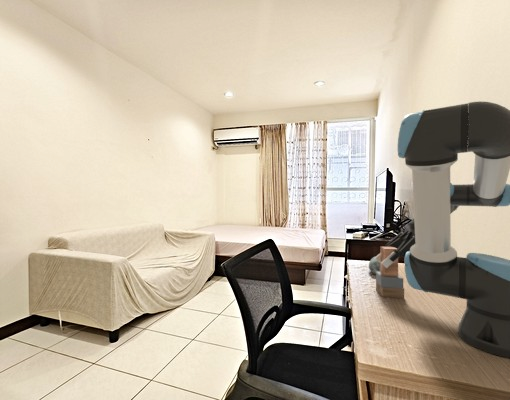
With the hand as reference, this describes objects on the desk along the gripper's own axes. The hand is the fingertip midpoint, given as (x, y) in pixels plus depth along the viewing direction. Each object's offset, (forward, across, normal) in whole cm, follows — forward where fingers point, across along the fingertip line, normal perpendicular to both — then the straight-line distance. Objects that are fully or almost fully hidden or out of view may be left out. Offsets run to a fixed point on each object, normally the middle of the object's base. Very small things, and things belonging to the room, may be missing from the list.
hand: (380, 262), depth 105 cm
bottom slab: (+7, 0, -12) cm, 13 cm away
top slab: (+4, 0, -9) cm, 9 cm away
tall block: (+1, 0, -6) cm, 6 cm away
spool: (+3, +29, -15) cm, 33 cm away
